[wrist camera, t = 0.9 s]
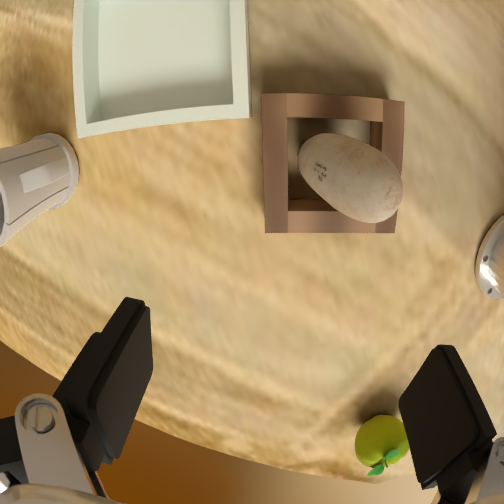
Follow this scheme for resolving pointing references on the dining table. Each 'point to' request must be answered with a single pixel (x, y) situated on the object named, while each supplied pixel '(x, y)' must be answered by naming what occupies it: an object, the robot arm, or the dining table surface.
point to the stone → (351, 176)
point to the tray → (159, 63)
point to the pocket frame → (276, 158)
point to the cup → (35, 180)
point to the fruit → (381, 443)
